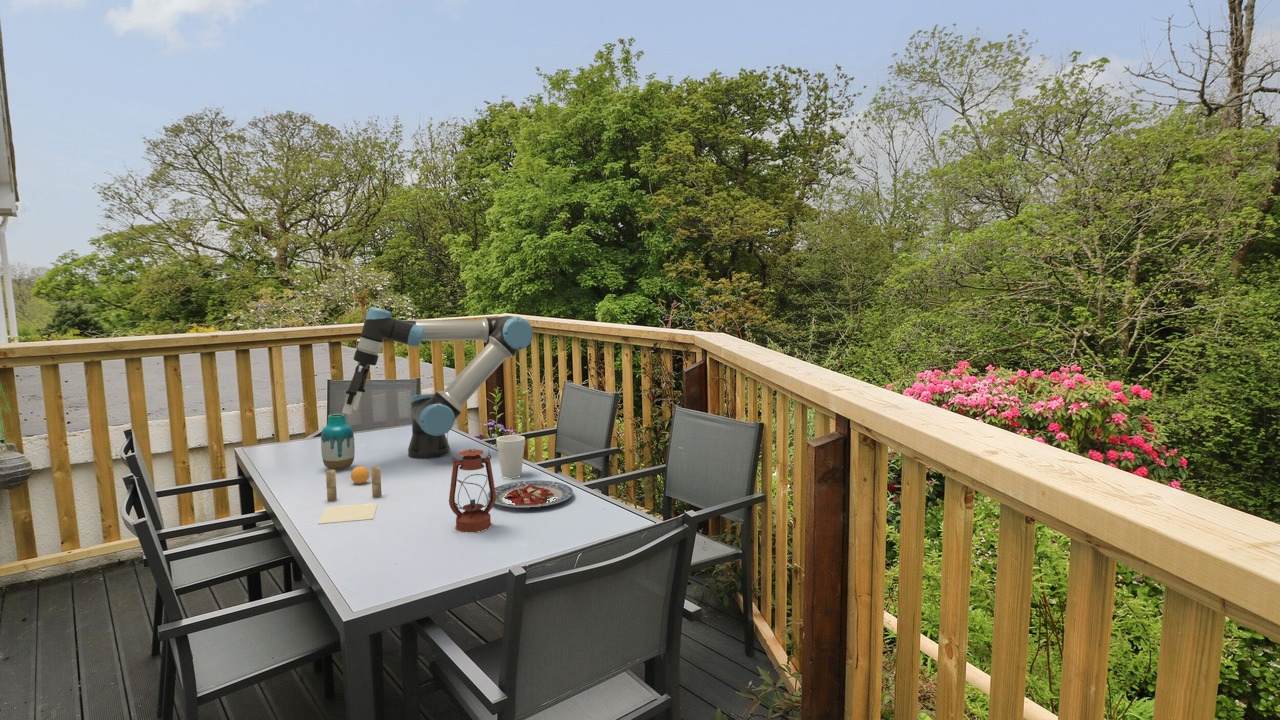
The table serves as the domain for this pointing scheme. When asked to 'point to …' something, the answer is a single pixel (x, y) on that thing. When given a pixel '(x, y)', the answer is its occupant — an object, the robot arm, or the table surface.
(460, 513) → the lantern
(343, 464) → the vase
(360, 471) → the ball
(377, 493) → the right post
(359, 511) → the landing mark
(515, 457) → the foam cup
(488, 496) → the ceramic plate
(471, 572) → the table surface
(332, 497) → the left post
